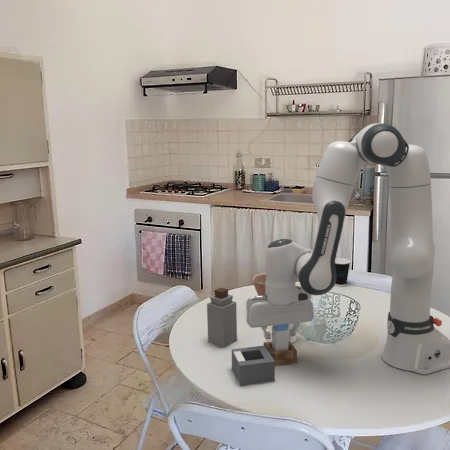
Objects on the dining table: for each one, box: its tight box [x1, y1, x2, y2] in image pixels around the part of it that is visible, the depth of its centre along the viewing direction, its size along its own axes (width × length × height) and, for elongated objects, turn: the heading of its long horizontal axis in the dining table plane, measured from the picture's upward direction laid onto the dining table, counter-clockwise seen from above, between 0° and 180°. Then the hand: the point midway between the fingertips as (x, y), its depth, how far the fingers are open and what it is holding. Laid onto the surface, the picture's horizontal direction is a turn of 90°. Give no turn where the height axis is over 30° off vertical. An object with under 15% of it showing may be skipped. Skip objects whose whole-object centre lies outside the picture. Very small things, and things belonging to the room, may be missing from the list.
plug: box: [271, 324, 289, 352], centre depth 149 cm, size 4×4×12 cm
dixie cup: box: [334, 257, 352, 288], centre depth 213 cm, size 8×8×11 cm
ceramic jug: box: [252, 272, 267, 296], centre depth 183 cm, size 18×14×14 cm
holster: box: [263, 340, 298, 367], centre depth 150 cm, size 8×8×4 cm
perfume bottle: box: [206, 287, 238, 349], centre depth 161 cm, size 7×7×18 cm
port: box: [231, 344, 276, 386], centre depth 141 cm, size 10×10×6 cm
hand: (280, 337), depth 149 cm, fingers open, 6 cm apart
